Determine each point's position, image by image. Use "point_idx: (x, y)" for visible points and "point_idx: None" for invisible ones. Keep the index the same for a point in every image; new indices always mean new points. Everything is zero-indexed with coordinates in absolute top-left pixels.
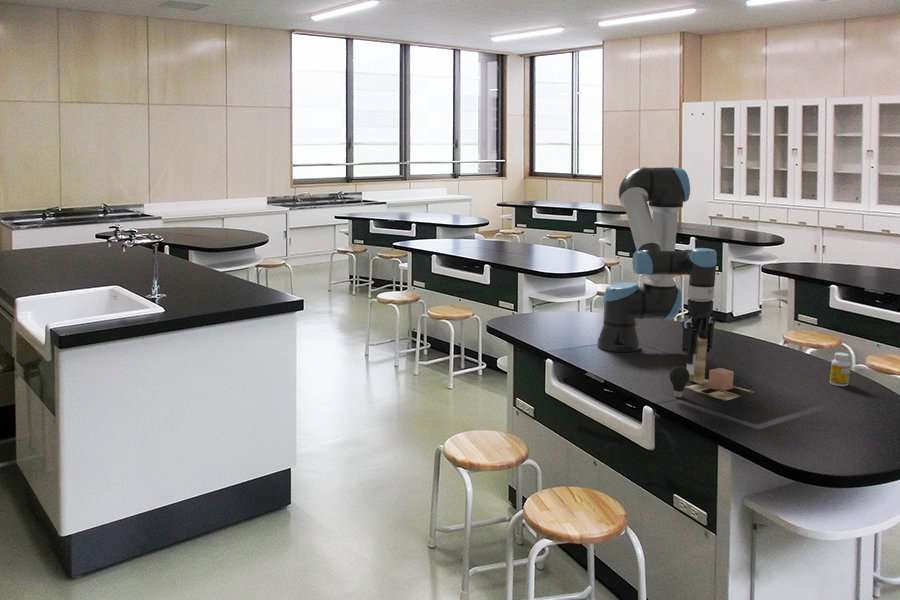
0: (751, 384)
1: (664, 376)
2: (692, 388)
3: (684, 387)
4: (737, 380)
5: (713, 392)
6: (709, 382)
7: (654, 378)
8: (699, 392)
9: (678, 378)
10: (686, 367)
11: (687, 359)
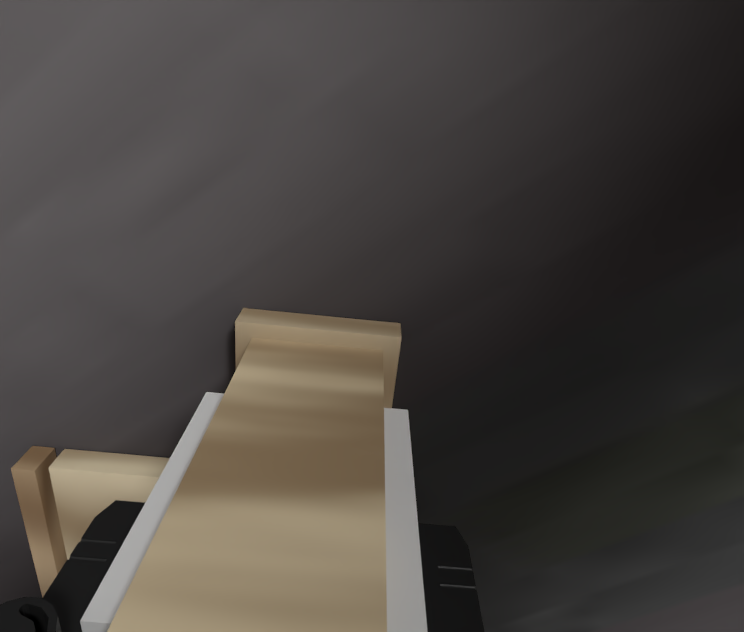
0: (602, 628)
1: (223, 60)
2: (67, 515)
3: (15, 475)
4: (639, 544)
5: None
6: None
7: (49, 30)
8: (43, 582)
9: None
10: (219, 407)
11: (73, 567)
